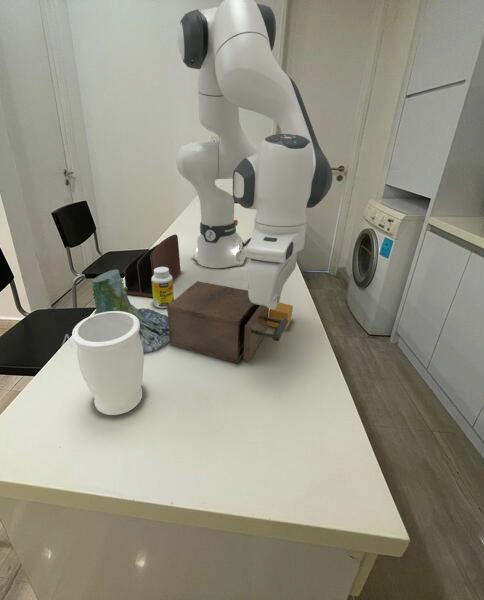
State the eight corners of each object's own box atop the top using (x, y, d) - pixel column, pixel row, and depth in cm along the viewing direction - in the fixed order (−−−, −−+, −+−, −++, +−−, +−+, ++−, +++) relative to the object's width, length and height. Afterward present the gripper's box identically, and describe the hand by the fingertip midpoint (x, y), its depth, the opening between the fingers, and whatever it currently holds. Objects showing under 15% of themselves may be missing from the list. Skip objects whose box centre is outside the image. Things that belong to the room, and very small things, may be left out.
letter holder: (181, 272, 110) (178, 231, 104) (157, 298, 94) (152, 251, 87) (153, 270, 113) (149, 229, 107) (125, 294, 97) (119, 248, 90)
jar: (129, 428, 53) (116, 351, 46) (76, 412, 56) (56, 338, 49) (158, 384, 62) (150, 314, 55) (110, 373, 65) (98, 306, 58)
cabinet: (258, 330, 77) (261, 292, 73) (237, 363, 66) (238, 321, 62) (198, 316, 84) (197, 281, 79) (169, 344, 73) (166, 305, 69)
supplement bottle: (159, 311, 87) (156, 275, 82) (150, 303, 91) (146, 268, 87) (177, 305, 90) (175, 270, 85) (167, 297, 94) (165, 263, 89)
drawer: (289, 335, 73) (293, 303, 69) (273, 368, 63) (277, 333, 60) (209, 317, 81) (208, 288, 78) (184, 343, 72) (182, 311, 68)
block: (273, 317, 82) (274, 301, 80) (290, 321, 80) (292, 305, 78) (268, 325, 79) (269, 309, 77) (286, 330, 77) (288, 313, 75)
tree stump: (167, 362, 68) (136, 287, 60) (84, 372, 74) (45, 305, 66) (183, 314, 84) (160, 249, 76) (114, 326, 89) (85, 267, 81)
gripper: (276, 222, 68) (271, 283, 74) (242, 251, 52) (239, 326, 58) (308, 224, 65) (300, 288, 71) (282, 256, 49) (275, 335, 55)
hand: (273, 306), depth 65 cm, fingers closed
